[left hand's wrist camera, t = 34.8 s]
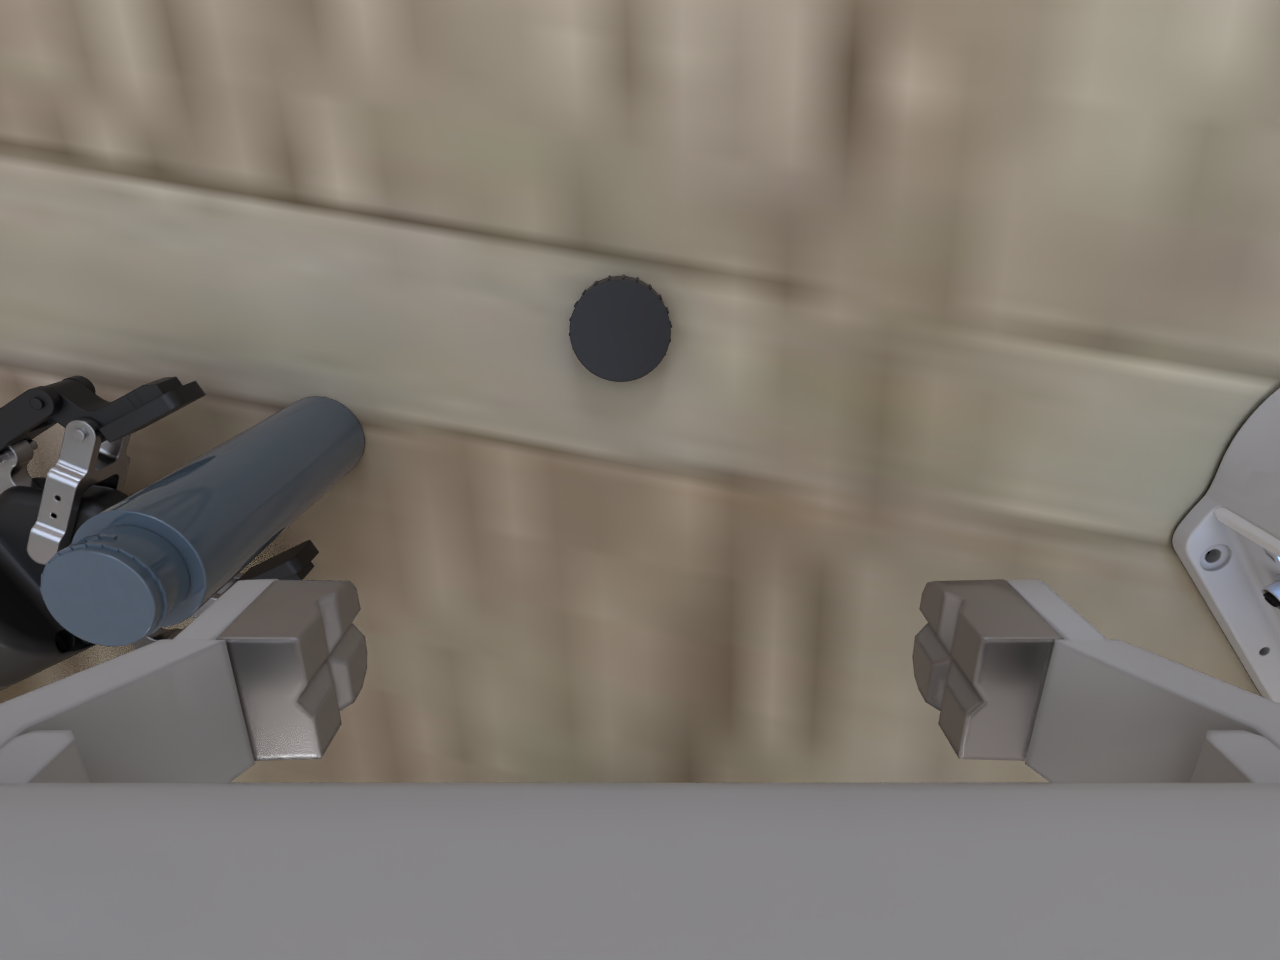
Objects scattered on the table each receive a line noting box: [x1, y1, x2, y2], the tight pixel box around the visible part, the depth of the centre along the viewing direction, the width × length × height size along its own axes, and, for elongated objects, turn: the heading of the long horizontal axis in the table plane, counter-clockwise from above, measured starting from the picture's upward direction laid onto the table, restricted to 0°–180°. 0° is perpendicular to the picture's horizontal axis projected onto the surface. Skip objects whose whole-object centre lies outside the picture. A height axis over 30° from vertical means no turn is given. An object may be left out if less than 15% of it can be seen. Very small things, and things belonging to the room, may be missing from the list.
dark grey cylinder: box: [40, 397, 365, 646], centre depth 30 cm, size 4×4×17 cm
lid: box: [569, 275, 672, 382], centre depth 35 cm, size 5×5×2 cm
